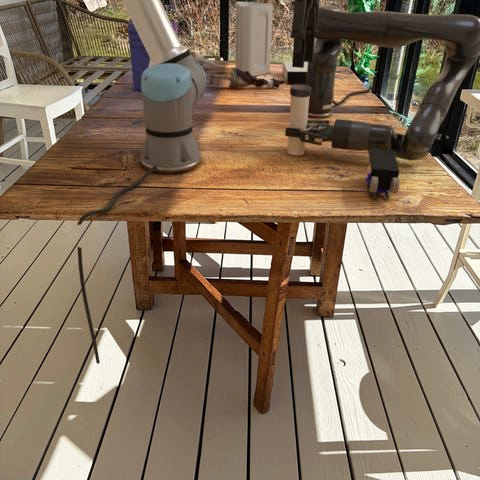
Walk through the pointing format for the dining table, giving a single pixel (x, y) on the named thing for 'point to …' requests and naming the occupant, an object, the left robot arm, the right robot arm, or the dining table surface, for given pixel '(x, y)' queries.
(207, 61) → the toy
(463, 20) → the right robot arm
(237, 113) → the dining table surface
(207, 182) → the dining table surface
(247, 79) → the figurine
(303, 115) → the cream cylindrical bottle
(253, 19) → the tall white carton
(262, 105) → the dining table surface
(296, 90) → the lid
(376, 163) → the figurine character
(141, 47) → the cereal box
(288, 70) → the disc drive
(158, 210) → the dining table surface
